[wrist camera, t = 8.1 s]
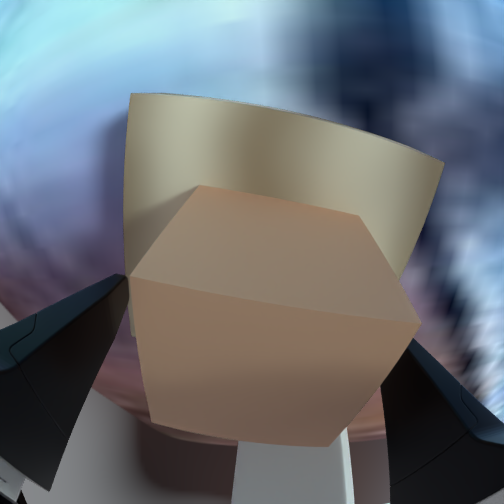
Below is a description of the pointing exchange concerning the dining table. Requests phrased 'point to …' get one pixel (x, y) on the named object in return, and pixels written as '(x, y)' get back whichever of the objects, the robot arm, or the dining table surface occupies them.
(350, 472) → the milk carton
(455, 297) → the dining table surface
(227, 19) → the dining table surface
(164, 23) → the dining table surface
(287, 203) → the tan cube
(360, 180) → the birch block
